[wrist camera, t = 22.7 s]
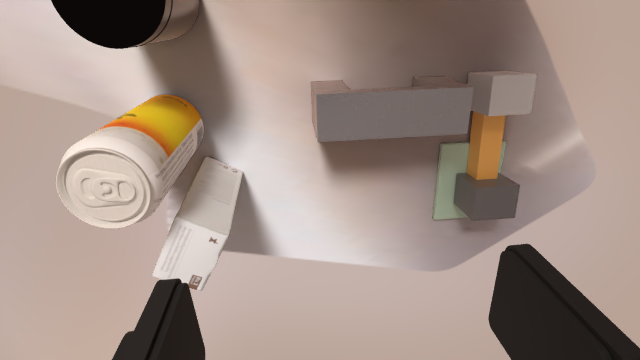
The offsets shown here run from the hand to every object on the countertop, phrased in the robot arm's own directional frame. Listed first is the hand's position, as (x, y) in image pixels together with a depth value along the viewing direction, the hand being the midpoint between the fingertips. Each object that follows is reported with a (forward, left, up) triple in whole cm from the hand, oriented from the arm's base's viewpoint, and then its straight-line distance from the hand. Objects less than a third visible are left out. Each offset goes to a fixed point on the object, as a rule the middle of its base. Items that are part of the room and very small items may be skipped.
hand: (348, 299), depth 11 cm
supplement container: (-10, -12, -28) cm, 31 cm away
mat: (+9, +18, -27) cm, 34 cm away
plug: (+5, +18, -27) cm, 33 cm away
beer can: (+1, -13, -28) cm, 30 cm away
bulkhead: (0, +7, -27) cm, 28 cm away
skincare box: (+8, -10, -28) cm, 30 cm away
